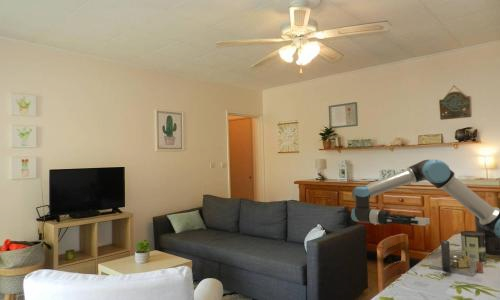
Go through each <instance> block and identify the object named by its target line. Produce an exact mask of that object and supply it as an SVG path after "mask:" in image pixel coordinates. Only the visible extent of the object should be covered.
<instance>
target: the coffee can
mask: <svg viewBox="0 0 500 300" xmlns="http://www.w3.org/2000/svg"><path fill="white" fill-rule="evenodd" d="M460 240H461V241H460V242H461V256H465V255H466V256H468V258H469V259H470V261H472V262H477V261H479V262H483V265H484V264H486V263H487V254H486V251H485V234H484V233H482V232H477V231H476V230H462V231H460Z"/></svg>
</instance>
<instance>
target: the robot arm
mask: <svg viewBox="0 0 500 300" xmlns="http://www.w3.org/2000/svg"><path fill="white" fill-rule="evenodd" d="M422 181H423V182H424V181H426V182H429V183H430V184H432V186H434V187H435V188H436V189H440V190H443V191H444V192H446V193H447V194H448V195H449V196H450V197H452V198H453V199H454V200H456V201H457V202H458V203H459V204H460V205H461V206H463V207H464V208H466V210H467V211H469V212H470V213H472V214H473V215H474V224H475V231H477V232H482V233H484V234H485V251H486V255H487V254H489V255H500V208H499V207H497V206H494V207H493V206H492V205H490V204H489V203H488V202H487V201H485V200H484V199H483V198H481V197H480V195H478V194H477V193H475V192H474V191H473V190H471V189H470V188H469V187H468V186H467V185H465V184H464V183H463V182H462V181H460V179H458V177H456V175H455V172H454V171H453V170H451V168H450V167H449V165H448V164H447V163H446V162H445V161H442V160H440V159H424V160H421V161H419V162H417V163H416V164H412V165H410V166H407V168H406V169H405V170H402V171H399V172H396V173H394V174H391V175H389V176H387V177H383V178H381V179H379V180H376V181H374V182H370V183H369V184H365V185H362V186H356V187H354V188H353V190H352V191H351V197H352V199H353V200H354V201H355V206H354V208H352V209H351V213H350V218H351V220H352V221H354V222H358V223H364V224H373V225H374V226H376V225H382V226H383V225H384V226H388V225H389V224H397V225H405V226H406V225H407V226H409V227H411V225H415V226H423V227H424V226H425V227H426V226H427V225H430V224H431V223H430V217H421V216H419V217H417V215H405V214H399V213H398V214H395V213H392V214H390V212H389V211H388V210H384V209H383V210H382V209H381V210H380V209H371V207H370V206H371V205H370V203H371V202H370V198H372V197H376V196H377V195H381V194H383V193H386V192H389V191H391V190H394V189H397V188H400V187H402V186H406V185H408V184H411V183H418V182H422Z"/></svg>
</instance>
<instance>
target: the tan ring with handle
mask: <svg viewBox="0 0 500 300" xmlns="http://www.w3.org/2000/svg"><path fill="white" fill-rule="evenodd" d="M440 244H441V246H440V248H441V256H440V257H441V263H442V272H444V273H452V272H451V270H452V269H453V268H454V267H459V268H460V267H469V266H470V265H471V261H470V259H469V258H468V256H466V255H465V256H462V255H460V256H461V258H460V259H458V260H451V259H450V255H451V254H452V253H451V252H450V249H451V248H450V241H448V240H441V241H440Z"/></svg>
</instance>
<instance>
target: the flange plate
mask: <svg viewBox="0 0 500 300" xmlns="http://www.w3.org/2000/svg"><path fill="white" fill-rule="evenodd" d="M461 256H462V255H459V254H453V253H451V255H450V259H451V260H458V259H460V258H461ZM428 269H431V270H437V271H442V263H441V256H439V257H438V258H436V259H435V260H434V261H432V262H431V263H430V264H428ZM442 272H443V271H442ZM450 273H452V274H457V275H463V276H468V277H474V276H475V275H476V274H477V273H478V274H479V273H480V274H483V273H484V264H483V262H479V261H477V262H472V261H471V265H470V266H469V267H460V268H459V267H454V268H453V269H452V270H451V272H450Z"/></svg>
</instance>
